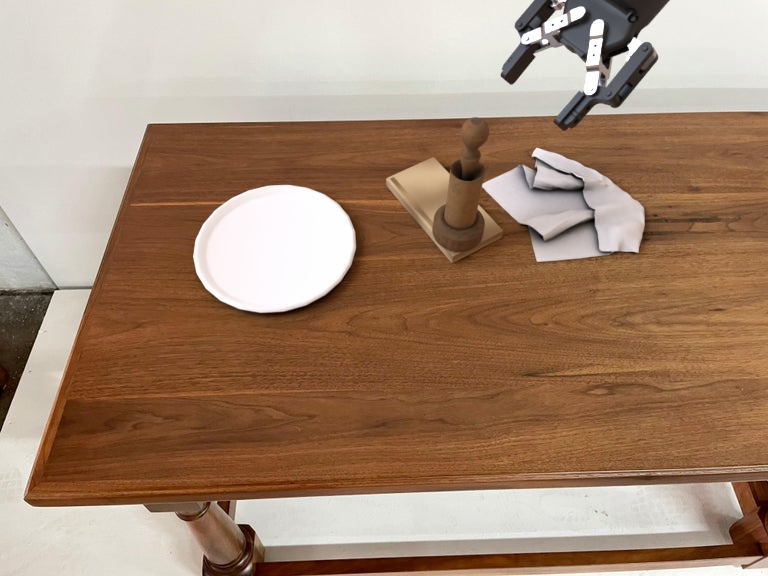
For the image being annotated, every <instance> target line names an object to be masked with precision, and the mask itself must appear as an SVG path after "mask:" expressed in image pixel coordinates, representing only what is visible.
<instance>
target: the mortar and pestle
mask: <svg viewBox="0 0 768 576" xmlns="http://www.w3.org/2000/svg"><path fill="white" fill-rule="evenodd" d="M460 136H461V140H462V142H463V143H464V145H465V147H464V148H462V149H461V151H460V154H459V155H460V158H459V159H457V160H455V161H454V162H453V163H452V164H451V165H450V170H449V174H450V177H449V185H448V193H447V200H446V204H444V205H443V206H441V207H440V208H439V209H438V210H437V211H436V213H435V215H434V220H433V226H432V232H433V236H434V238H435V240H436V242H437V243H438V244H439V245H440V246H442V247H443V248H445V249H447V250H450V251H454V252H465V251H469V250H472V249H474V248H475V247H476V246H477V245H478V244H479V243H480V242H481V240H482V237H483V232H484V227H485V221H484V217H483V215H482V214H481V212H480V211H479V210H478V204H479V205H480V199H481V194H482V189H483V187H482V184H483V183H484V180H485V176H486V168H485V166H484V164H483V163H481V161H480V159H481V157H482V154H481V153H482V152H481V151H480V150H479V149H480V148H481V147H482V146H483V145H484V144H485V143H486V142H487V140H488V139H489V136H490V127H489V123H487V121H486V120H485V119H483V118H481V117H478V116H477V117H476V116H474V117H470V118H469V119H468V118H467V119H466V120H465V121H464V123H463V124H462V125H461V129H460Z"/></svg>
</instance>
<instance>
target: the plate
mask: <svg viewBox="0 0 768 576" xmlns="http://www.w3.org/2000/svg"><path fill="white" fill-rule="evenodd" d="M356 251H357V240H356V230H355V228H354V225H353V223H352V220H351V218H350V216H349V214H348V213H347V212H346V211H345V210H344V209H343V208H342V206H341V205H340V204H339V203H338V202H336V201H335V200H333V199H332V198H331V197H329V196H328V195H326V194H324V193H322V192H321V191H317V190H314V189H312V188H309V187H305V186H299V185H292V184H278V185H276V184H275V185H265V186H261V187H258V188H253V189H249V190H246V191H245V192H242V193H240V194H237V195H235V196H234V197H232V198H230V199H229V200H227V201H226V202H224V203H223V204H221V205H220V206H219V207H216V209H215V210H214V211H213V212H212V213H211V214H210V215H209V217H208V218H207V219H206V220H205V222H204V223H202V226H201V228H200V230H199V231H198V234H197V235H196V238H195V242H194V248H193V256H192V257H193V262H194V267H195V272H196V275H197V276H198V278H199V280H200V281H201V283H202V285H203V286H204V288H205V289H206V290H207V291H208V292H209V293H210V294H212V296H214V298H216V299H217V300H218V301H219V302H222V303H224V304H225V305H228V306H229V307H230V306H231V307H233V308H235V309H237V310H239V311H244V312H250V313H257V314H273V313H274V314H276V313H285V312H289V311H292V310H293V311H294V310H296V309H299V308H303V307H307V306H309V305H311V304H312V303H314V302H316V301H317V300H319V299H321V298H324V297H326V296H327V295H328V294H329V293H330V292H331V291H332V290H333V289H335V287H337V286H338V285H339V284H340V283H341V282H342V281H343V279H344V278H345V276H346V274H347V273H348V271H349V270H350V268H351V267H352V264H353V260H354V257H355V253H356Z"/></svg>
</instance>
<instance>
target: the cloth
mask: <svg viewBox="0 0 768 576" xmlns="http://www.w3.org/2000/svg"><path fill="white" fill-rule="evenodd" d="M531 158H536V159H535V165H534V169H532V168H530V167H528V166H527V165H525V164H519V165H517V166H516V167H515V168H513V169H510V170H509V171H507V172H504V173H502V174H500V175H497V176H495V177H493V178H491V179H489V180H487V181H485V182H483V184H482V189H484V191H485V192H486V193H487V194H489V196H490V197H491V198H492V199H493V200H494V201H495V202H496V203H497V204H498V205H499V206H500V207H501V208H502V209H503V210H504V211H505V212H506V213H508V214H509V216H510V217H511V218H513V220H515V221H516V222H517V223H518V224H521V225H526V226H527V227H528V231H529V235H530V239H531V245H532V249H533V253H534V256H535V260H536V263H544V262H558V261H560V262H561V261H571V260H580V259H587V258H589V259H590V258H597V257H606V256H610V255H612V254H613V253H614V252H626V253H631V252H632V253H635V254H639V250H640V247H641V243H642V240H643V233H644V231H645V222H646V221H645V220H646V215H645V206H644V205H643V204H642V203H641V202H640V201H639V200H637V199H634V198H633V197H632V195H630V194H629V193H628V192H626V191H624V190H623V189H622V188H620V187H619V186H618V185H617V184H615V183H614V182H613V181H612V180H611V179H610V178H609V177H607V176H605V175H604V174H601V173H600V172H598V171H597V170H596V169H594V168H590V167H587V166H585V165H583V164H582V163H580V162H579V161H576V160H574V159H570V158H567V157H565V156H563V155H562V154H559V153H557V152H553V151H548V150H546V149H543V148H539V147H536V148H535V149H534V151H533V152H532V154H531ZM535 169H537V170H535Z"/></svg>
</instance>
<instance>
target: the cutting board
mask: <svg viewBox="0 0 768 576" xmlns="http://www.w3.org/2000/svg"><path fill="white" fill-rule="evenodd" d="M449 177H450V172H449V171H448V170H447V169H446V168H444V166H443V165H442V164H441V163H440V162H439V161H438V159H437V158H436V157H434V156H432V157H430V158H428V159H426V160H424V161H421V162H418V163H416V164H414V165H413V166H410V167H408V168H405V169H403V170H402V171H399V172H397V173H394V174H393V175H390V176H388V177H386V179H385V186H386V188H387V189H388V190H389V191H390V192H391V194H392V195H393V196H394V197H395V198H396V199H397V200H398V202H399V203H400V204H401V205H402V206H403V208H404V209H405V210H406V211H407V213H409V215H410V216H411V217H412V218H413V220H415V222H416V223H417V224H418V225H419V227H420V228H421V229H422V230H423V231H424V232H425V233H426V235H427V236H428V237H429V238H430V239H431V240H432V242H433V243H434V244H435V245H436V247H438V249H439V250H440V251H441V252H442V254H443V255H444V256H445V257H446V258H447V259H448V261H449V262H450V263H451V264H454V263H455V262H458V261H460V260H461V259H464V258H465V257H467V256H469V255H471V254H473V253H475V252H477V251H479V250H480V249H483V248H484V247H487V246H488V245H490V244H492V243H495V242H496V241H498V240H500V239H502V237H503V233H504V229H502V228H501V227H500V226H499V225H498V223H497V222H496V221H495V220H494V219H493V217H491V216H490V214H488V213H487V212H486V211H485V210H484V209H483V207H481V205H480V203H479V204H478V210H479V211H480V212H481V214H482V215H483V217H484V221H485V227H484V232H483V237H482V240H481V242H480V243H479V244H478V245H477V246H476V247H475V248H474V249H472V250H469V251H465V252H454V251H450V250H447V249H445V248H443V247H442V246H440V245H439V244H438V243H437V242H436V240H435V238H434V236H433V232H432V226H433V220H434V215H435V213H436V211H437V210H438V209H439V208H440V207H441V206H443V205H444V204H446V200H447V193H448V185H449Z"/></svg>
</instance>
